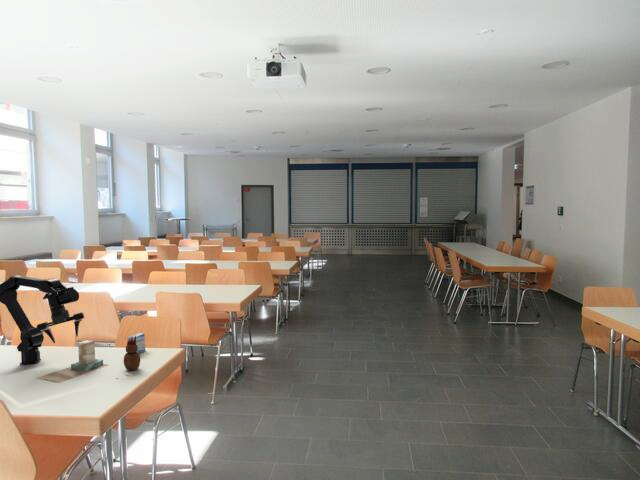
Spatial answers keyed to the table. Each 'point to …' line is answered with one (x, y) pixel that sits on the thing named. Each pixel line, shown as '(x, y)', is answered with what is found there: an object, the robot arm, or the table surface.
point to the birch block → (86, 352)
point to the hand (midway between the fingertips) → (66, 339)
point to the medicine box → (139, 341)
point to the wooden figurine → (131, 355)
